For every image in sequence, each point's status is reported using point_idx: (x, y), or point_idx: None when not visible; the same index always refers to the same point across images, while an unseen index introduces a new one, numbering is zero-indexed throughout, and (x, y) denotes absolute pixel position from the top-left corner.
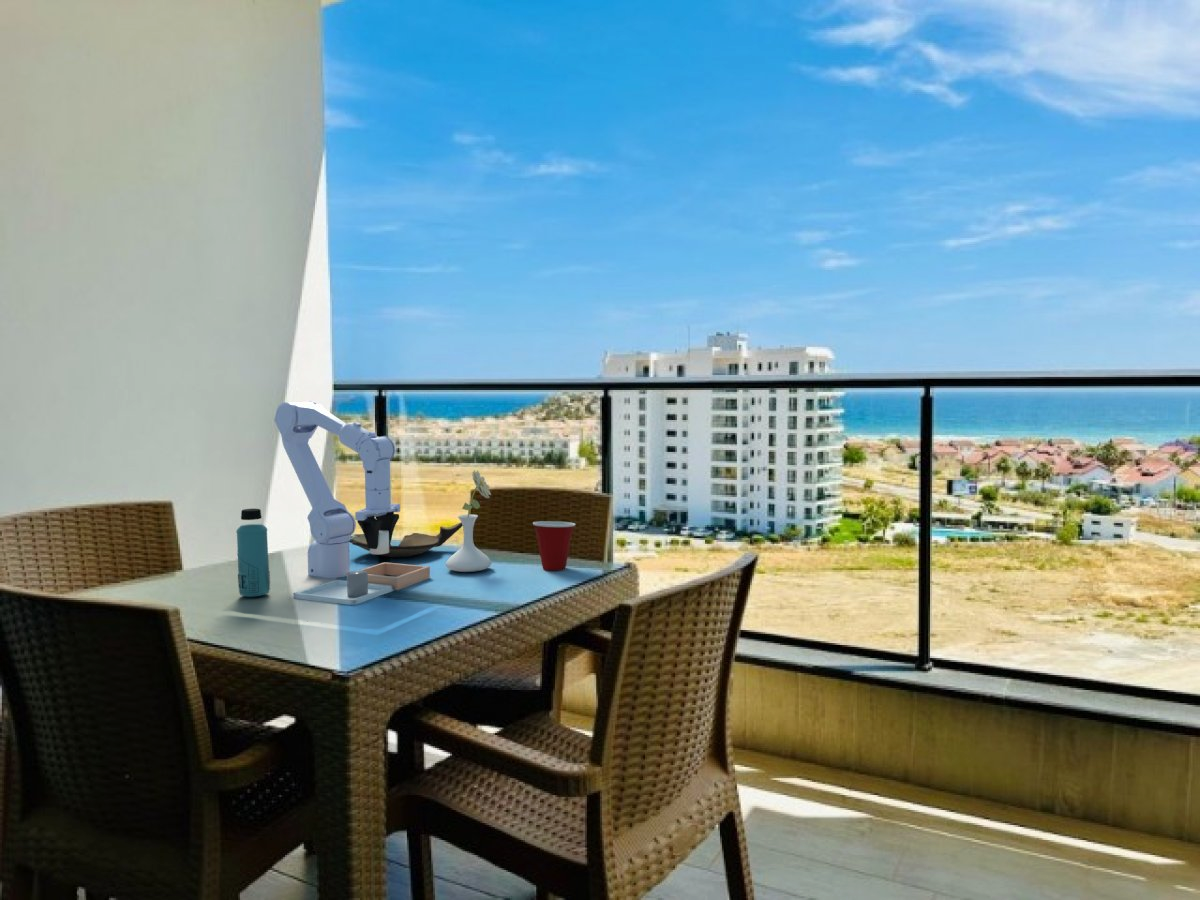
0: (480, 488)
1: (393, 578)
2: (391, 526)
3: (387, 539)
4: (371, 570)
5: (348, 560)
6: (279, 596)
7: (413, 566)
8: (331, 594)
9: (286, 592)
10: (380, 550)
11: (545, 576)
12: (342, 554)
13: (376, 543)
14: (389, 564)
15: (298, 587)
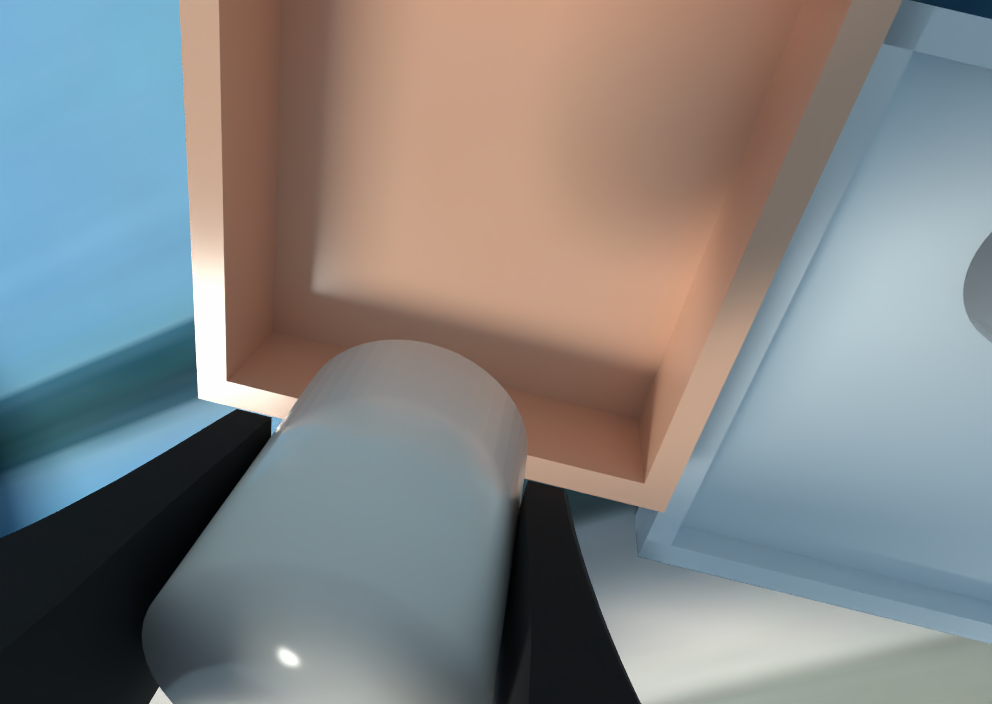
0: None
1: (888, 21)
2: (55, 612)
3: (360, 460)
4: None
5: None
6: (871, 697)
7: (223, 48)
8: (985, 469)
9: (772, 693)
10: (504, 429)
11: None
12: None
13: (569, 535)
14: (230, 335)
15: (648, 676)
